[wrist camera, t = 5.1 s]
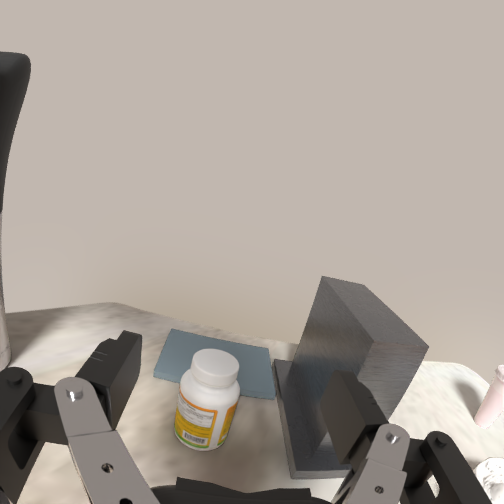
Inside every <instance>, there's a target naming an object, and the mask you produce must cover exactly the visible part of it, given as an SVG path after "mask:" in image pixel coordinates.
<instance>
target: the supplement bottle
mask: <svg viewBox="0 0 504 504" xmlns="http://www.w3.org/2000/svg"><path fill="white" fill-rule="evenodd" d="M238 371H239V363H238V361H237V359H236V358H235V357H234V356H232V355H231V354H229V353H227V352H225V351H222V350H218V349H202V350H200V351H198V352H196V353H195V354H194V356H193V359H192V364H191V369H189V370H187V371H186V372H185V373H184V374H183V376H182V378H181V382H180V387H179V395H178V402H177V409H176V416H175V424H174V430H175V434H176V436H177V438H178V439H179V440H180V441H181V442H182V443H183V444H184V445H186V446H188V447H190V448H192V449H195V450H200V451H209V450H213V449H216V448H218V447H219V446H221V445H222V444H223V443H224V441H225V440H226V437H227V434H228V431H229V428H230V424H231V421H232V418H233V415H234V412H235V409H236V405H237V402H238V399H239V395H240V386H239V384H238V382H237V380H236V378H237V375H238Z"/></svg>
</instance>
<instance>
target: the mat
mask: <svg viewBox="0 0 504 504" xmlns="http://www.w3.org/2000/svg"><path fill="white" fill-rule="evenodd" d="M202 349H218V350H222V351H225V352H227V353H229V354H231V355H232V356H234V357H235V358H236V359H237V361H238V363H239V371H238V375H237V378H236V380H237V382H238V384H239V386H240V395H243V396H250V397H256V398H264V399H271V400H274V398H275V395H276V391H275V385H274V379H273V374H272V368H271V362H270V356H269V350H268V348H262V347H256V346H251V345H245V344H240V343H235V342H230V341H225V340H220V339H215V338H211V337H206V336H201V335H197V334H193V333H188V332H184V331H180V330H176V329H171V331H170V333H169V335H168V338H167V340H166V343H165V345H164V347H163V350H162V352H161V355H160V357H159V360H158V362H157V364H156V367H155V369H154V377H157V378H161V379H165V380H169V381H173V382H177V383H180V382H181V378H182V376H183V374H184V373H185V372H186V371H187V370H189V369H191V364H192V359H193V356H194V354H195V353H196V352H198V351H200V350H202Z"/></svg>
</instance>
